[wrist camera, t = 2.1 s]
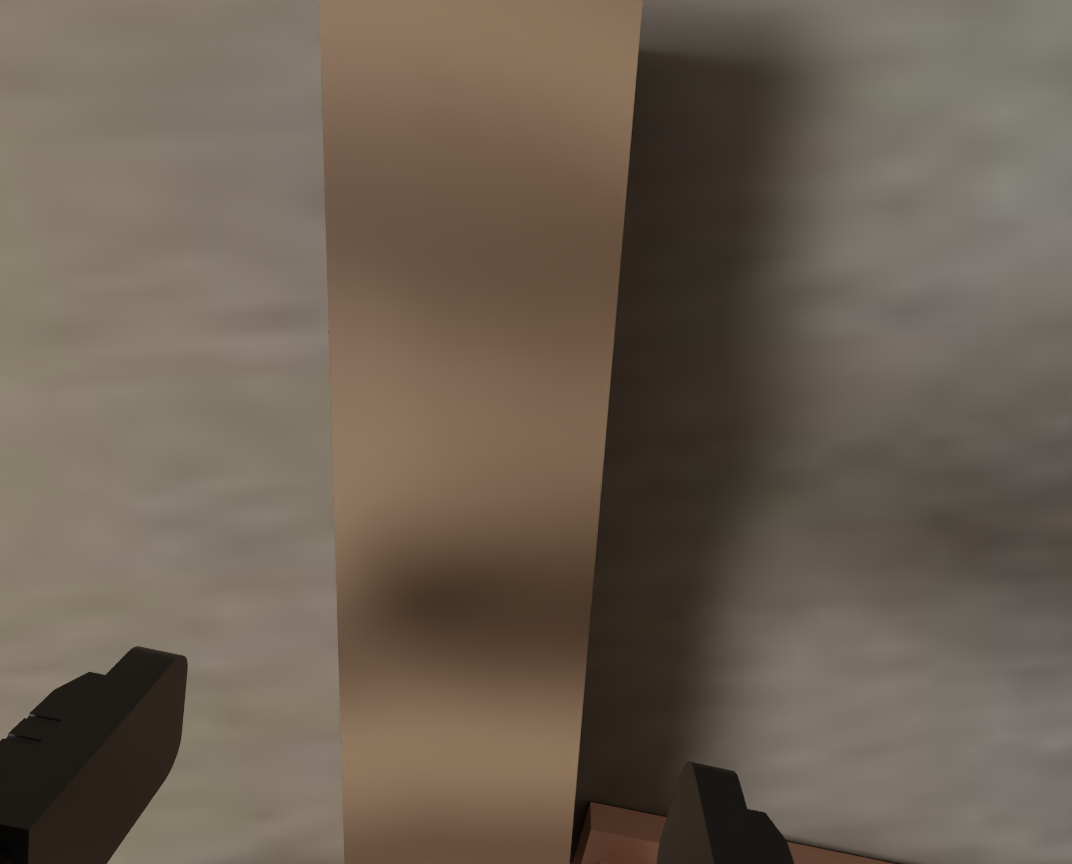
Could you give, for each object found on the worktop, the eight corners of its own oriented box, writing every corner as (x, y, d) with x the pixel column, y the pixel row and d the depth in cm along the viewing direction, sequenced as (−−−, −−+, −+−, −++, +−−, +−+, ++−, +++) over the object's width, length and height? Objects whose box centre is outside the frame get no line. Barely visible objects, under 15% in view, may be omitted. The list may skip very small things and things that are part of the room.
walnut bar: (391, 38, 17) (318, -18, 12) (623, 50, 17) (642, -3, 12) (394, 842, 24) (349, 1009, 19) (559, 855, 23) (555, 1027, 19)
